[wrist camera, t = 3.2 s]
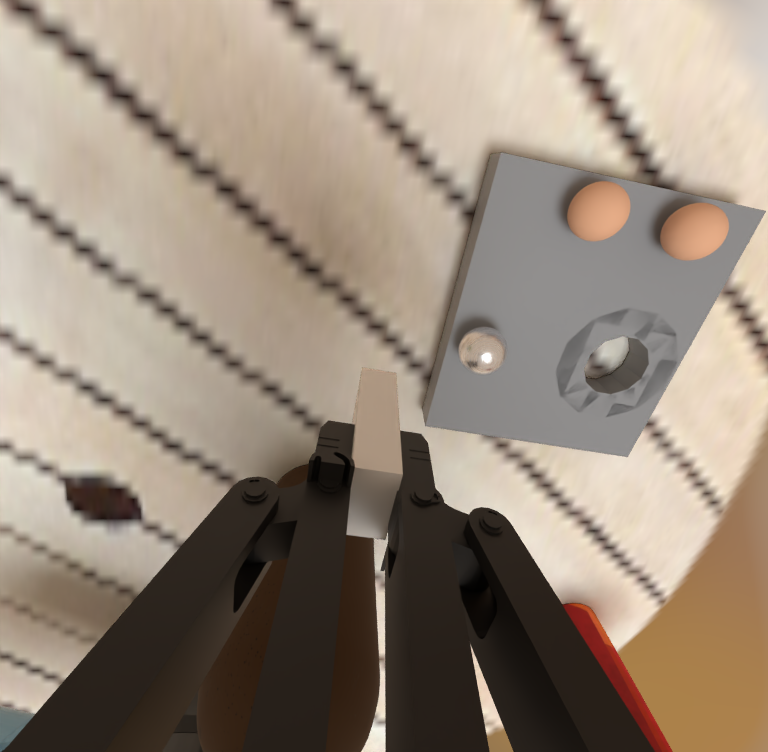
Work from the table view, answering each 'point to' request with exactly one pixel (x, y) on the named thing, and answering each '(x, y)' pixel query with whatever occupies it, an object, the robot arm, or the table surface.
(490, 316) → the plate
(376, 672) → the olive oil
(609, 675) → the coffee cup
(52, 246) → the table surface
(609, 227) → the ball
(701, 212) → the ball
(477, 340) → the ball
